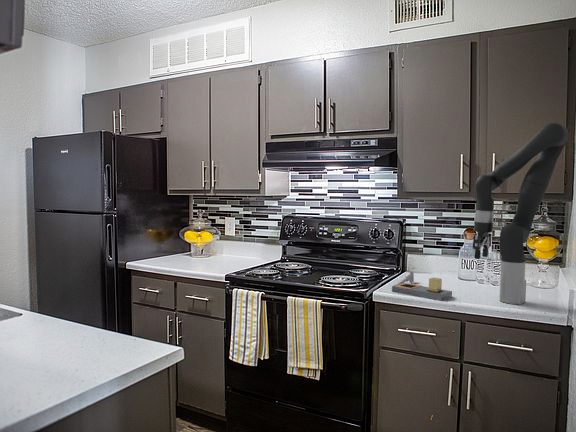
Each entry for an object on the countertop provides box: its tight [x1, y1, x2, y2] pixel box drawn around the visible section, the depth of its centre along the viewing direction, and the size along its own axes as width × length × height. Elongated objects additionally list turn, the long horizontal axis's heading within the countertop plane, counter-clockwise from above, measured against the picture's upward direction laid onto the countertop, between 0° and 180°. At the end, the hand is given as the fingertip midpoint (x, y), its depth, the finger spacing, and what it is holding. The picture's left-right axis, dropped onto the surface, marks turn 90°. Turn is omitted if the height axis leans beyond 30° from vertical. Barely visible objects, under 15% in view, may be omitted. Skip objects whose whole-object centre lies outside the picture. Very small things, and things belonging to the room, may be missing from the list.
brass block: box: [428, 277, 443, 293], centre depth 204 cm, size 4×4×8 cm
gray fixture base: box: [391, 282, 453, 302], centre depth 209 cm, size 24×10×3 cm, turn 46°
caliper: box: [394, 270, 415, 285], centre depth 228 cm, size 20×1×6 cm, turn 139°
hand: (481, 257), depth 205 cm, fingers open, 8 cm apart
